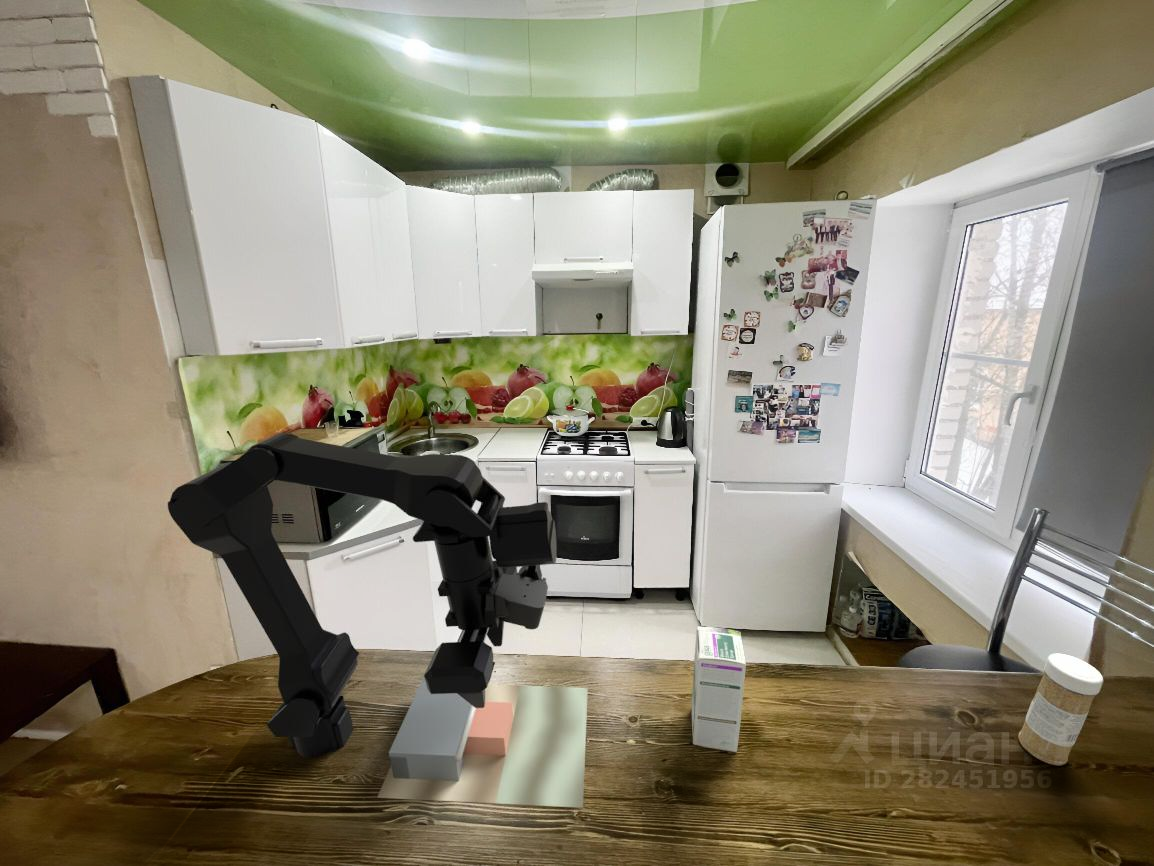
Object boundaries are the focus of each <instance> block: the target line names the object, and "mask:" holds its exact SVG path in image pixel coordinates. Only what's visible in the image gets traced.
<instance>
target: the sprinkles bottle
mask: <svg viewBox="0 0 1154 866" xmlns="http://www.w3.org/2000/svg"><path fill="white" fill-rule="evenodd" d="M1043 668H1044V670H1043V671H1044V673H1043V674H1042V675H1043V676H1042V678H1041V680H1040V682H1039V685H1038V686H1037V689H1036V692H1035V694H1034V696H1033V699H1032V700H1031V703H1030V706H1029V708H1028V710H1027V713H1026V715H1025V721H1024V724H1023V725H1022V728H1021V730H1020V731H1019V732H1018V737H1017V738H1018V741H1019V742H1020V744H1021V745H1022V748H1024V749H1025V750H1026V751H1027V752H1028V753H1029V754H1030V755H1032V756H1033V757H1034V758H1036V759H1037V760H1040V761H1042V762H1044V763H1046V764H1049V765H1053V766H1063V765H1066V763H1067V762H1068V761H1069V759H1068V757H1069V754H1070V753H1071V750H1072V748H1073V746H1074V745H1075V743H1076V741H1077V739H1078V737H1079V734H1080V732H1081V730H1082V728H1083V726H1084V723H1085V722H1086V719H1087V716H1088V714H1089V712H1090V711H1089V710H1090V707H1091V706H1092V702H1093V700H1094V698H1095V697H1096V696H1097V695H1098V694H1099V692H1100V691H1101V689H1102V686H1103V684H1104V677H1103V675H1102V674H1101V672H1100V671H1099V670H1098V669H1096V667H1094V666H1092V665H1091V664H1089V663H1088V662H1086V661H1084V660H1082V659H1080V658H1078V657H1075V656H1072V655H1068V654H1064V653H1051V654H1049V655H1048V656H1047V659H1046V661H1045V664H1044V666H1043Z"/></svg>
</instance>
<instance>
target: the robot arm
mask: <svg viewBox="0 0 1154 866" xmlns="http://www.w3.org/2000/svg"><path fill="white" fill-rule="evenodd" d="M275 481H279V482H284V483H289V484H295V485H301V486H305V487H312V488H317V489H322V490H327V491H333V492H338V493H342V494H343V493H344V494H349V495H354V496H358V497H359V496H360V497H364V498H370V499H374V500H375V499H376V500H380V501H381V500H382V501H384V502H388V503H389V504H390V503H391V504H392V505H395V506H396V507H397V508H398V509H400V510H401V511H402V512H403V513H404V514H406V515H407V516H409V517H411V518H414V519H417V520H420V521H423V522H422V523H421V524H420V526H419V527H418V529H417V530H416V532H415V534H414V535H413V536H412V541H413V542H414V543H423V542H434V547H435V551H436V555H437V558H438V559H437V560H438V564H439V567H440V572H441V576H442V577H441V578H442V580H441V581H440V584H439V586H438V587H437V591H438V596H439V597H446V599H447V602H448V606H449V607H448V608H449V609H448V612H447V614H446V616H445V618H444V620H445V621H444V622H445V626H446V627H447V628H448V627H457V628H458V630H462V631H464V632H463V634H462V637H461V640H460V641H453V642H442V643H440V644H439V646H438V647H437V648H436V649H435V650H434V653H433V654H432V656H431V659H430V661H429V664H428V666H427V668H426V671H425V672H424V675H423V677H424V678H425V681H426V685H427V689H428V691H429V692H430V693H431V694H449V693H457V694H458V695H460V696H461V697H462V698H464V699H465V700H466V701H467V702H469V703H470V704H471V705H472V706H474V707H475V708H484V706H485V689H486V688H487V686H488V684H490V681H491V678H492V674H493V671H494V668H495V665H496V661H494V651H493V647H501V646H502V645H503V639H504V629H505V628H504V627H505V623H507V624H508V623H509V624H513V625H516V626H521V627H524V628H525V629H528V630H532V631H533V630H535V629H538V628H539V627H540V624H541V619H542V616H543V612H544V608H545V605H546V600H547V595H548V591H549V590H548V589H549V586H548V583H547V578H546V577H543V573H542V570H541V567H540V566H544V565H547V566H548V565H555V564H557V563H556V561H557V554H558V553H557V548H558V547H557V533H556V531H557V530H556V523H555V520H554V519H553V517H552V512H551V511H550V510H549V509H550V508H549V503H548V502H546V501H543V502H534V503H531V504H527V505H526V504H525V505H516V506H507V507H506V506H505V507H504V504H505V501H506V497H505V496H504V495H503V494H502V493H501V492H500V491H498V490H497V488H495V486H493V485H492V484H491V483H490V482H489V481H488V480H487V479H486V478H484V476H483V474H482V472H481V469H480V468H479V467H478V465H477V464H476V462H475V460H473V459H471V458H469V457H467V456H465V455H461V454H438V453H437V454H436V453H434V454H433V453H431V454H424V455H418V456H417V455H416V456H395V455H390V454H384V453H379V452H373V451H368V450H364V449H358V448H354V447H353V448H352V447H348V446H343V445H338V444H333V443H332V444H331V443H327V442H322V441H317V440H311V439H305V438H302V437H301V438H300V437H299V436H298V435H296V434H293V433H285V432H284V433H282V432H280V433H277V434H274V435H272V436H270V437H268V438H266V439H264V440H262V441H259V442H257V443H256V444H255V443H254V445H252V446H251V447H249V448H248V449H247V451H246V452H245V453H243V454H242V455H241V456H239V457H238V458H236V459H235V460H233V461H231V462H230V461H229V462H226V463H224V464H221V465H220V466H218V467H215V468H214V469H212V470H209V471H208V472H207V471H206V473H203V474H202V475H200V476H197V477H195V478H194V479H192V480H189V481H188V482H185V483H184V484H182V485H180V486H178V487H176V488H175V489H174V491H173V492H172V494H171V496H170V499H169V501H168V502H167V509H168V510H167V511H168V512H169V515H170V517H171V518H172V520H173V521H174V523H175V524H176V525H177V526H178V528H179V529H180V530H181V531H182V532H183V534H184V535H185V536H186V537H187V539H188V540H189V541H190V542H191V543H192V544H193V545H195V546H196V547H200V548H202V549H203V550H206V551H208V552H211V553H213V554H216V555H217V556H219V557H220V558H221V559H222V560H223V562H224V564H225V566H227V569H228V570H229V572H230V574H231V575H232V577H233V579H234V581H235V583H236V584H237V586H238V587H239V589H240V591H241V593H242V594H243V597H244V598H245V600H246V601H247V603H248V605H249V607H250V608H251V610H252V612H253V613H254V615H255V617H256V618H257V620H258V622H259V624H260V625H261V627H262V629H263V631H264V632H265V634H266V635H267V638H268V639H269V641H270V643H271V644H272V646H273V647H274V650H275V651H276V653H277V654H278V655H277V656H278V658H279V659H278V673H277V674H278V677H277V688H278V690H279V693H280V696H281V699H282V701H283V702H282V703H281V704H280V706H279V707H278V709H277V710H276V711H275V712H274V714H273V715H272V717H271V718H270V720H269V721H268V723H266V727H267V728H268V729H269V731H270V732H272V734H273V736H274V737H276V738H289V743H290V746H291V748H292V749H296V750H297V753H298V755H300V757H302V758H307V759H313V758H317V757H318V758H319V757H320V756H321V757H322V756H323V755H325V754H327V753H328V752H330V751H337V750H339V749H342V748H344V747H345V746H346V743H347V742H348V741H349V739H350V737H351V735H352V733H353V731H354V724H353V721H352V716H351V711H350V708H349V707H348V706H346V702H345V698H344V696H343V695H342V693H343V691H344V690H345V688H346V686H347V685H348V683H349V681H350V679H352V676H353V674H354V673H355V671H356V669H357V666H358V657H359V655H360V652H359V651H358V650H357V649H356V648H355V647H354V645H353V644H352V642H351V637H350V635H349V634H348V633H347V632H341V633H339V634H336V633H333V632H331V631H328V630H325V629H324V628H323V627H322V626H321V624H320V622H319V620H318V618H317V617H316V615H315V613H314V611H313V609H312V607H311V605H310V603H309V601H308V600H307V597H306V595H305V593H304V592H303V589H302V588H301V587H300V586H301V585H300V584H299V582H298V580H297V579H296V576H295V575H294V572H293V571H292V569H291V567H290V566H289V563H288V561H287V560H286V558H285V556H284V553H283V552H282V550H281V548H280V547H279V545H278V543H277V541H276V538H275V537H274V535H273V532H272V531H273V530H272V525H273V513H274V512H273V511H274V510H273V509H274V502H273V499H272V497H271V493H270V490H269V487H268V486H269V485H271V484H272V483H273V482H275ZM476 501H477V502H479V503H481V504H480V506H479V508H478V510H477V512H476V511H474V510H473V507H474V506H475V503H476ZM493 559H494V560H493ZM519 567H520V569H519V570H518V568H519ZM486 638H488V639H489V641H490V643H491V645H493V647H492V646H490V645H489V644H487V643H486Z"/></svg>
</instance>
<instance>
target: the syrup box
mask: <svg viewBox="0 0 1154 866" xmlns="http://www.w3.org/2000/svg"><path fill="white" fill-rule="evenodd" d="M741 634H742V633H741V631H739V630H734V629H728V628H723V627H715V626H699V625H697V627H696V632H695V646H694V660H693V661H694V662H693V664H694V665H693V679H692V681H693V682H692V692H691V693H692V694H691V729H692V730H691V732H692V744H693V745H695V746H699V747H703V748H708V749H714V750H720V751H721V750H722V751H727V752H733V753H737V751H738V746H739V738H740V729H741V719H742V709H743V700H744V689H745V676H746V668H747V663H746V658H745V654H744V653H745V652H744V646H743V642H742V640H743V639H742V635H741Z"/></svg>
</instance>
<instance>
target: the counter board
mask: <svg viewBox="0 0 1154 866" xmlns="http://www.w3.org/2000/svg"><path fill="white" fill-rule="evenodd" d="M588 689H589V688H588V687H576V686H550V685H549V686H548V685H547V686H544V685H521V684H519V685H517V684H513V685H512V684H493V683H492V684H490V683H488V686H487V688H486V689H485V702H506V703H512V711H513V723H512V728H511V733H510V737H509V742H508V747H507V752H506V756H501V755H478V754H463V763H464V765H463V769H462V772H461V775H460V779H459V781H444V780H423V779H402V778H394V776H393V772H392V767H391V766H390V767H389V768H388V769H389V770H388V772H387V774H386V776H385V779H384V781H383V784H382V786H381V788H380V790H379V792H378V795H377V798H378V799H379V798H381V799H382V798H383V799H398V800H400V799H401V800H416V801H417V800H418V801H419V800H420V801H437V802H438V801H439V802H458V803H459V802H460V803H478V804H479V803H480V804H497V805H516V806H517V805H519V806H537V807H555V808H556V807H560V808H577V809H578V808H579V809H584V793H585V789H584V787H585V785H584V784H585V768H586V767H585V765H586V763H585V762H586V761H585V760H586V738H587V719H588V718H587V715H588V713H587V712H588V692H589V691H588Z"/></svg>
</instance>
